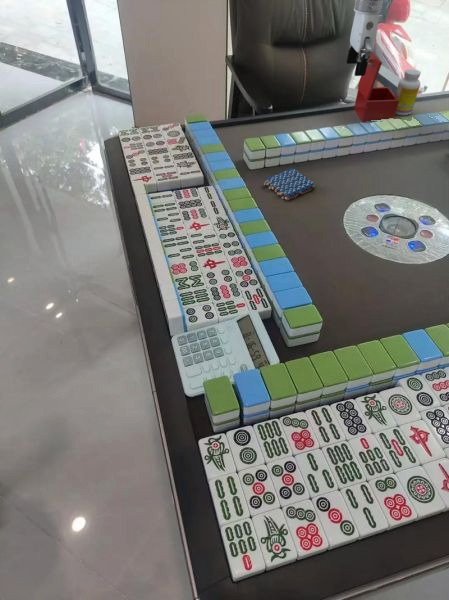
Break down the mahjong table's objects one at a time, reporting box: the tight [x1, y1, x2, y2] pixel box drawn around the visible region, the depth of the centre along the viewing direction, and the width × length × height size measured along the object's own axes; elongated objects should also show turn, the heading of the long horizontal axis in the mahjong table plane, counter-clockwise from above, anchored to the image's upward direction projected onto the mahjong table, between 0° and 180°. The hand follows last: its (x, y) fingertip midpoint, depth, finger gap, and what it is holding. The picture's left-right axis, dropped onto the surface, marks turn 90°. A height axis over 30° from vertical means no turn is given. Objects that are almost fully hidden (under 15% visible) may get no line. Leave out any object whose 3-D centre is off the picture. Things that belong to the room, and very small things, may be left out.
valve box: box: [353, 86, 399, 123], centre depth 143 cm, size 10×10×7 cm
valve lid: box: [356, 50, 383, 100], centre depth 135 cm, size 11×10×5 cm
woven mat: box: [263, 168, 317, 201], centre depth 117 cm, size 10×11×2 cm
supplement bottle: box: [395, 68, 422, 116], centre depth 141 cm, size 7×7×13 cm
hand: (355, 69), depth 134 cm, fingers open, 9 cm apart
